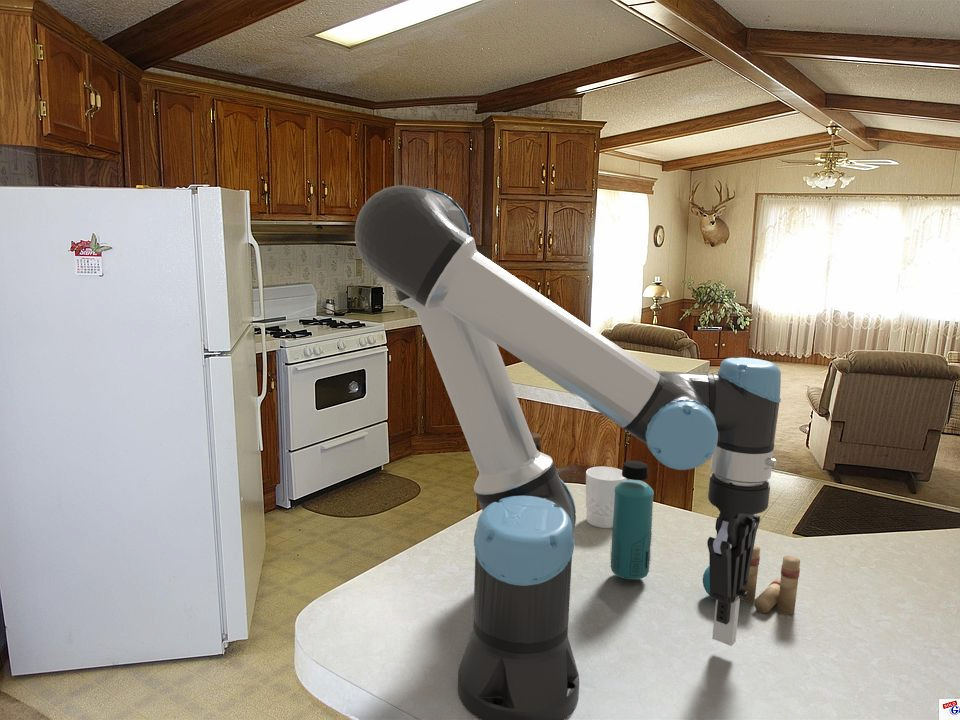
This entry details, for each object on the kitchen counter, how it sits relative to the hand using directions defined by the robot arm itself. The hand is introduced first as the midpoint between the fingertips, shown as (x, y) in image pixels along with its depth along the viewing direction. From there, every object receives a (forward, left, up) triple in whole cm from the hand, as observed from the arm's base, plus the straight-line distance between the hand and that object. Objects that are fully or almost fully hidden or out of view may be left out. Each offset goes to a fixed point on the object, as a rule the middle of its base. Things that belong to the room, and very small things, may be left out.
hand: (723, 640), depth 101 cm
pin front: (+13, +7, -1) cm, 14 cm away
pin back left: (+14, +11, -2) cm, 18 cm away
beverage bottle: (-1, +22, -2) cm, 23 cm away
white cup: (+7, +44, -2) cm, 45 cm away
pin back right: (+17, +6, -2) cm, 18 cm away
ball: (+9, +12, +1) cm, 15 cm away
